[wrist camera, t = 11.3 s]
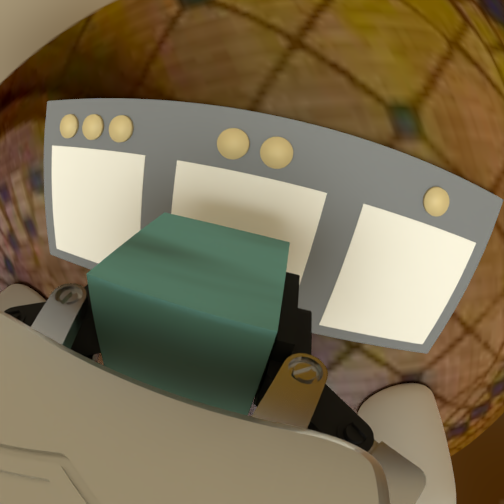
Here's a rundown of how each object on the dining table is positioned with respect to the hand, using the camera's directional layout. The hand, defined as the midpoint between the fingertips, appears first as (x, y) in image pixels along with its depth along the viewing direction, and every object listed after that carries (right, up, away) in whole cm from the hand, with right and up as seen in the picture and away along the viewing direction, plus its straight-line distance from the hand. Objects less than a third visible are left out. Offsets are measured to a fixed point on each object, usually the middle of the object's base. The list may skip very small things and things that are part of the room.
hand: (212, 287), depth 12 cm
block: (0, 0, 0) cm, 1 cm away
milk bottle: (+15, -13, +10) cm, 22 cm away
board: (+1, +3, +5) cm, 6 cm away
